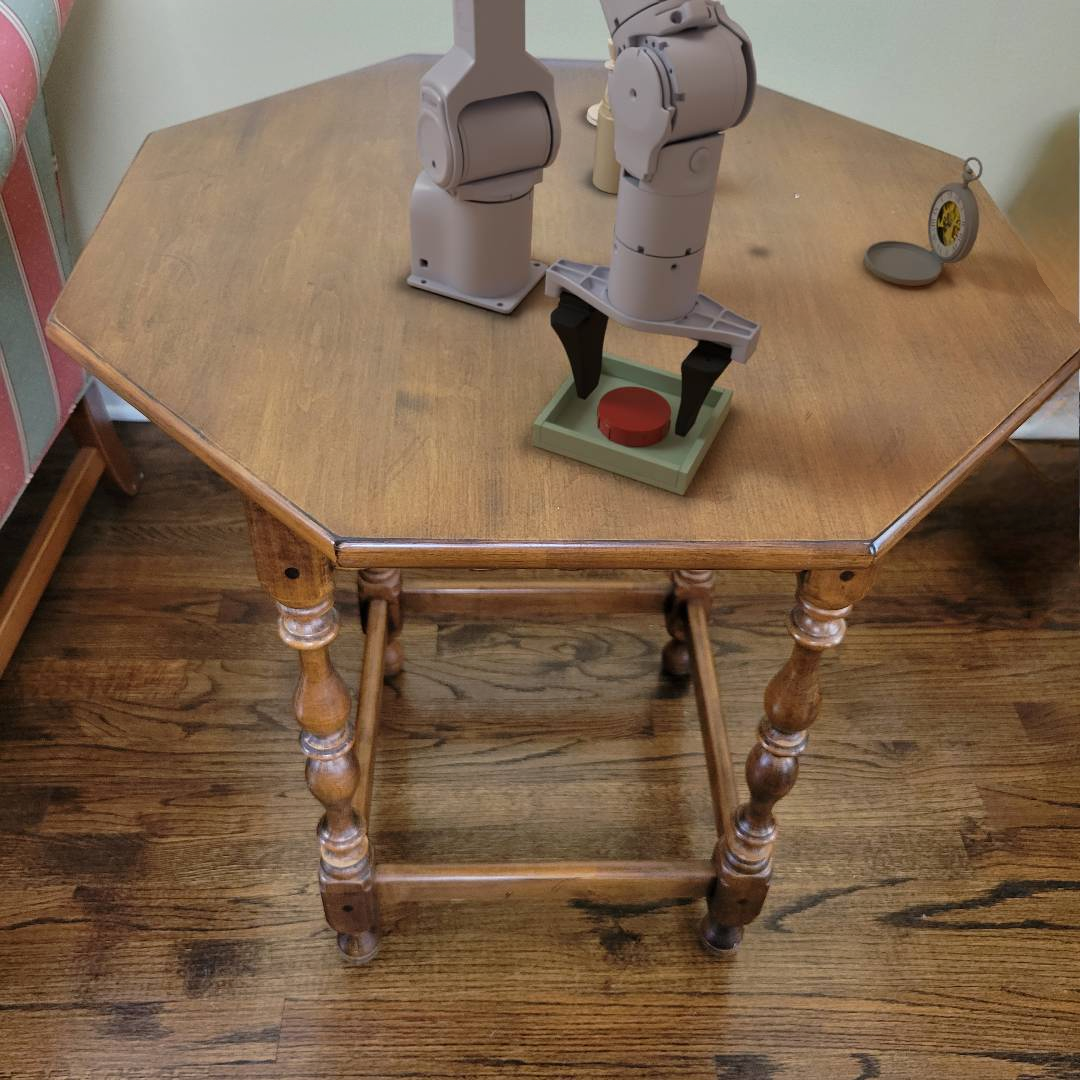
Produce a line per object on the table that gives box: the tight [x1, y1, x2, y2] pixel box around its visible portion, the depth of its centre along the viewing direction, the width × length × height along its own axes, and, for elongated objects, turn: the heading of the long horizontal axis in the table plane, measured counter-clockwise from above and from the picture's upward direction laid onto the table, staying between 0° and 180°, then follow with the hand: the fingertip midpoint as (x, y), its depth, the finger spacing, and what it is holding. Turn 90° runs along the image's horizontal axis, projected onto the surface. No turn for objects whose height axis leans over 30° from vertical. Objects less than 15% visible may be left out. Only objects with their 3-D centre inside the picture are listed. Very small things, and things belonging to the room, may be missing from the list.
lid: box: [597, 386, 671, 447], centre depth 75 cm, size 5×5×2 cm
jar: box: [591, 92, 621, 195], centre depth 100 cm, size 5×5×8 cm
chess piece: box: [586, 36, 618, 127], centre depth 110 cm, size 5×5×10 cm
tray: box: [532, 351, 734, 496], centre depth 76 cm, size 11×10×2 cm
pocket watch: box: [863, 156, 984, 287], centre depth 91 cm, size 8×8×10 cm
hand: (635, 409), depth 75 cm, fingers open, 7 cm apart
